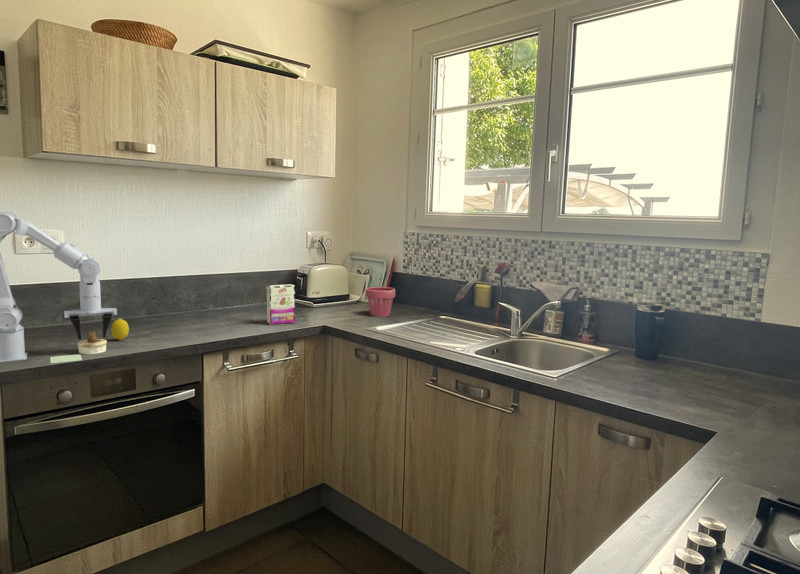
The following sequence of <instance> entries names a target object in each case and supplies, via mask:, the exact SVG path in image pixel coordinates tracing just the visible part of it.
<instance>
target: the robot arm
mask: <svg viewBox="0 0 800 574" xmlns="http://www.w3.org/2000/svg"><path fill="white" fill-rule="evenodd" d="M11 233H14V234H15V235H21V236H26V237H29V238H31V239H32V240H34V241H35V242H38V244H39V243H40V244H41V245H43V246H44V247H45V248H48V249H49V250H51V251H53V256H54V258H55V259H57V260H58V261H60V262H61V263H64V264H65V265H66V266H68V267H70V268H71V269H73V270H77V271H78V274H79V277H80V278H79V305H80V308H79V309H72V310H71V309H70V310H64V312H63V315H64V318H65V319H68V318H69V319H70V322H71V323H72V325H73V327H74V329H75V331H76V333H77V334H76V335H77V339H78V340H79V341H82V335H81V334H82V333H81V319H80V317H92V316H95V317H96V316H102V339H104V338H107V332H108V328H109V325H110V323H111V321H112V319H113V316H117V315H118V309H117V308H116V307H108V308H107V307H102V300H101V299H102V296H101V294H102V293H101V281H100V279H101V277H100V275H99V273H100V272H101V268H100V264H99V262H98V261H97V260H96V259H95V258H94V257H91V255H90V254H89V253H84V252H83V251H81V250H80V249H78V248H77V247H76V244H74V243H73V242H72V243H69V242H67V241H66V242H60V241H58V240H57V239H55V238H53V237H52V236H51V235H49V234H48V233H46V232H44V230H41V228H39V227H38V226H36V225H35V224H33V223H32V222H30V221H28V220H26V219H24V218H22V217H19V216H17V215H16V214H14V213H12V212H9V211H0V243H1V242H3V240H4V239H6V237H7V236H8V235H10V234H11ZM7 276H8V275H7V272H6V269H5V265H4V262H3V257H2V254H1V253H0V363H3V362H14V361H23V360H24V361H26V360H27V358H28V357H27V356H28V352H25V351H26V348H25V330H24V326H22V325H21V321H22V319H23V317H24V315H23V311H22V310H21V308H20V307H19V306H17V304H16V303H17V302H16V300H15V298H14V297H13V293H12V289H11V286H10V283H9V279H8V277H7Z"/></svg>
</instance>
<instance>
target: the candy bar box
mask: <svg viewBox="0 0 800 574" xmlns="http://www.w3.org/2000/svg"><path fill="white" fill-rule="evenodd" d="M266 323H267V324H268V323H269V324H268V325H270V326H273V325H272V324H276V325H284V324H283V323H287V324H295V323H296V285H294V284H293V283H292V284H274V285H272V284H271V285H266Z"/></svg>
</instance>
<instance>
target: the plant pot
mask: <svg viewBox="0 0 800 574" xmlns="http://www.w3.org/2000/svg"><path fill="white" fill-rule="evenodd" d="M365 297H366V299H367V304H368V308H369V314H370V316H371V317H379V318H384V317H388V316H391V315H390V314H391V310H392V306H393V301H394V298H396V289H395V288H394V287H388V286H387V287H385V286H372V287H367V288H365Z"/></svg>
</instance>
